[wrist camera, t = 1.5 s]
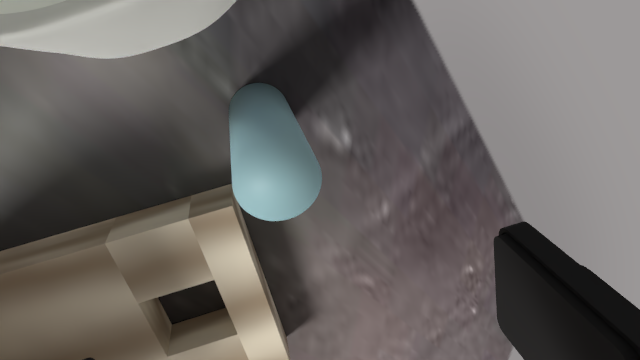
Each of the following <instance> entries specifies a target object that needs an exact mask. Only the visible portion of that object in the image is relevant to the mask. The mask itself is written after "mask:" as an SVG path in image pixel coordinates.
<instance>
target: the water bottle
mask: <svg viewBox="0 0 640 360" xmlns="http://www.w3.org/2000/svg"><path fill="white" fill-rule="evenodd" d="M235 2H236V0H0V46H4V47H12V48H19V49H27V50H36V51H44V52H53V53H63V54H71V55H77V56H83V57H90V58H102V59H112V58H123V57H129V56H133V55H137V54H141V53H145V52H148V51H151V50H154V49H158V48H161V47H164V46H167V45H170V44H172V43H175V42H178V41H181V40H183V39H185V38H188V37H190V36H192V35H194V34H196V33H198V32H200V31H201V30H203V29H205V28H206V27H208V26H209V25H211V24H212V23H213V22H215V21H216V20H217V19H218V18H220V17H221V16H222V15H223V14H224V13H225V12H226V11H227V10H228V9H229V8H230V7H231V6H232V5H233V4H234V3H235Z"/></svg>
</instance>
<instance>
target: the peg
mask: <svg viewBox="0 0 640 360" xmlns="http://www.w3.org/2000/svg"><path fill="white" fill-rule="evenodd" d="M229 131H230V152H231V173H232V188H233V192H234V196H235V198H236V200H237V202H238V203H239V205H240V206H241V207H242V208H243V209H244V210H245V211H246V212H248V213H249V214H250V215H252V216H254V217H256V218H259V219H262V220H267V221H282V220H287V219H291V218H293V217H296V216H298V215H300V214H301V213H303V212H304V211H305V210H307V209H308V208H309V207H310V206H311V205H312V204H313V202H314V201H315V199H316V198H317V196H318V194H319V191H320V188H321V183H322V173H321V168H320V165H319V163H318V161H317V159H316V157H315V155H314V153H313V151H312V149H311V147H310V145H309V143H308V141H307V140H306V138H305V136H304V134H303V132H302V130H301V128H300V126H299V124H298V122H297V120H296V118H295V116H294V114H293V112H292V110H291V109H290V107H289V105H288V103H287V101H286V99H285V97H284V96H283V94H282V93H281V92H280V91H279V90H278V89H277V88H275V87H273V86H271V85H269V84H265V83H252V84H248V85H246V86H244V87H242V88H241V89H239V90H238V91H237V92H236V93H235V95H234V96H233V98H232V100H231V102H230V105H229Z"/></svg>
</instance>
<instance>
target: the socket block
mask: <svg viewBox="0 0 640 360" xmlns="http://www.w3.org/2000/svg"><path fill="white" fill-rule="evenodd" d="M212 280H215V282H216V285H217V287H218V289H219V292H220V294H221V296H222V299H223V301H224V303H225V306H226V308H223V309H220V310H217V311H214V312H211V313H208V314H204V315H201V316H198V317H195V318H192V319H189V320H185V321H182V322H179V323H176V324H173V325H172V324H171V322H170V320H169V318H168V316H167V314H166V312H165V310H164V308H163V306H162V305H161V303H160V301H159V299H158V297H161V296H164V295H167V294H170V293H173V292H177V291H180V290H183V289H186V288H190V287H193V286H196V285H199V284H203V283H206V282H209V281H212ZM90 357H91V358H93V359H95V360H290V354H289V349H288V343H287V338H286V335H285V332H284V329H283V326H282V324H281V321H280V318H279V315H278V312H277V310H276V307H275V304H274V301H273V299H272V296H271V293H270V290H269V287H268V285H267V282H266V279H265V276H264V273H263V271H262V268H261V265H260V262H259V260H258V257H257V254H256V251H255V248H254V246H253V243H252V240H251V237H250V235H249V232H248V229H247V226H246V223H245V221H244V218H243V215H242V212H241V209H240V207H239V204H238V202H237V200H236V198H235V196H234V192H233V188H232V184H229V185H225V186H222V187H219V188H215V189H212V190H208V191H205V192H201V193H198V194H195V195H191V196H188V197H184V198H181V199H177V200H174V201H171V202H167V203H164V204H160V205H157V206H153V207H150V208H147V209H143V210H140V211H136V212H133V213H130V214H126V215H123V216H119V217H116V218H112V219H109V220H106V221H102V222H99V223H95V224H92V225H88V226H85V227H82V228H78V229H75V230H71V231H68V232H64V233H61V234H58V235H54V236H51V237H47V238H44V239H40V240H37V241H34V242H30V243H27V244H23V245H20V246H16V247H13V248H10V249H6V250H3V251H0V360H82V359H86V358H90Z"/></svg>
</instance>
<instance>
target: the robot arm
mask: <svg viewBox="0 0 640 360" xmlns="http://www.w3.org/2000/svg"><path fill="white" fill-rule="evenodd" d="M494 259H495V281H496V304H497V320H498V323H499V326H500V328H501V330H502V332H503V333H504V334H505V336H506V337H507V338H508V340H509V341H510V342H511V343H512V345H513V346H514V347H515V348H516V350H517V351H518V352H519V354H520V355H521V356H522V357H523V359H524V360H640V310H639V309H638V308H637V307H636V306H634V305H633V304H632V303H631V302H629V301H628V300H627V299H626V298H624V297H623V296H622V295H621V294H619V293H618V292H617V291H616V290H614V289H613V288H612V287H611V286H609V285H608V284H607V283H606V282H604V281H603V280H602V279H600V278H599V277H598V276H597V275H596V274H594V273H593V272H592V271H591V270H589V269H587V268H586V267H584V266H582V265H579V264H578V263H577V262H575V261H574V260H573V259H572V258H571V257H569V256H568V255H567V254H566V253H565V252H563V251H562V250H561V249H560V248H558V247H557V246H556V245H555V244H553V243H552V242H551V241H550V240H548V239H547V238H546V237H545V236H543V235H542V234H541V233H540V232H539V231H537V230H536V229H535V228H534V227H532V226H531V225H530V224H528V223H527V222H520V223H517V224H514V225H511V226H508V227H504V228H502V229H500V231H499V236H496V237H495V238H494ZM82 360H95V359H93V358H91V357H90V358H86V359H82Z"/></svg>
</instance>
